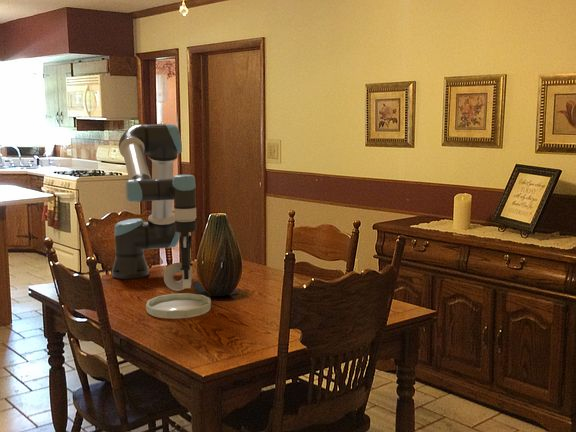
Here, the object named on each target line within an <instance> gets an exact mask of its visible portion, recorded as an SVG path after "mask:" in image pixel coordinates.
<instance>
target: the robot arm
mask: <svg viewBox="0 0 576 432" xmlns="http://www.w3.org/2000/svg"><path fill="white" fill-rule="evenodd" d="M118 150H119V153H120V155H121V156H122V158H123V159H124V163H125V167H126V173H127V176H128V180H126V182H125V195H126V199H127V201H129V202H136V203H138V202H139V203H140V202H151V214H150V215H149V216H148V218H147V221H143V219H142V218H129V219H124V220H121V221H119V222H116V224H115V225H114V234H113V236H114V249H115V250H114V253H115V255H114V256H115V259H114V262H113V265H112V269H111V276H112V277H113V278H115V279H121V280H122V279H123V280H131V279H139V278H144V277H146V276H147V277H148V275H149V274H150V273H149V272H150V271H149V270H150V269H149V266H148V263H147V261H146V258H145V253H144V252H145V251H144V250H155V249H157V250H158V249H169V248H175V247H177V245H178V244H179V243H180V250H181V263H182V268H180V270H182V273H181V274H182V276H181V279H183V288H185V289H192V281H191V277H190V269H191V270H192V266H194V263H192V259H191V258H192V256H191V255H192V254H191V251H192V240H193V236H192V235H191V234H190V233H193V232H194V233H195V232H196V231H197V221H196V219H197V200H196V196H197V195H196V191H197V190H196V189H197V188H196V186H197V184H196V178H195V175H192V174H175V175H174V162H175V161H176V160H177V159H178V154H181V153H182V152H183V145H182V137H181V133H180V129H179V128H178V126H177V125H176V124H169V123H168V124H167V123H156V124H155V123H154V124H136V125H132V126H131V127H129V128H127V130H125V131H124V132H123V134H122V135H121V137H120V138H119V141H118ZM145 155H147V158H148V159H149V160H150V161H151V174H150V171H149V167H148V166H149V165H148V163H147V160H146V156H145ZM180 234H181V235H180Z"/></svg>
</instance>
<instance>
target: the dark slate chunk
mask: <svg viewBox="0 0 576 432" xmlns="http://www.w3.org/2000/svg"><path fill="white" fill-rule="evenodd" d="M192 287H193V290H194V291H195V294H199V295H204V296H206V297H208V298H211V297H210V295H209V294H208V293H207V292H206V290H205V289H204V288H203V287H202V285H201V284H200V282H199V280H198V281H197V280H196V281H195V282H193V283H192ZM235 295H238V290H237V289H235V290H234V291H233V292H232V294H231V295H230V296H235Z"/></svg>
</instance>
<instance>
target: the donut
mask: <svg viewBox="0 0 576 432" xmlns="http://www.w3.org/2000/svg"><path fill="white" fill-rule="evenodd" d="M180 268H182V262H178V261H177V262H173V263H171V264H170V265H169V264H168V266H167V268H166V269H165V271H164V272H163V281H164V284H165V286H166V287H167V288H168V289H170V290H173V291H175V292H176V291H177V292H178V291H183V290H185V289H186V288H183V279H182V278H181V279H180V280H176V279H174V276H175V274H177V273H181V274H182V270H180ZM190 277H191V282H192V280H193V271H192V268H191V269H190Z"/></svg>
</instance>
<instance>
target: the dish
mask: <svg viewBox="0 0 576 432" xmlns="http://www.w3.org/2000/svg"><path fill="white" fill-rule="evenodd" d="M211 304H212V300H211V297H206V296H204V295H199V294H196V293H189V292H188V293H187V292H185V293H169V294H163V295H158V296H156V297H153V298H151V299H148V300H147V302H146V304H145V310H146V312H147V314H148V315H150V316H151V317H154V318H155V317H156V318H158V319H159V318H160V319H166V320H167V319H168V320H170V319H171V320H177V319H179V320H180V319H189V318H195V317H199V316H202V315H205V314H207V313H209V311H210V310H211V306H212V305H211Z"/></svg>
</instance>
